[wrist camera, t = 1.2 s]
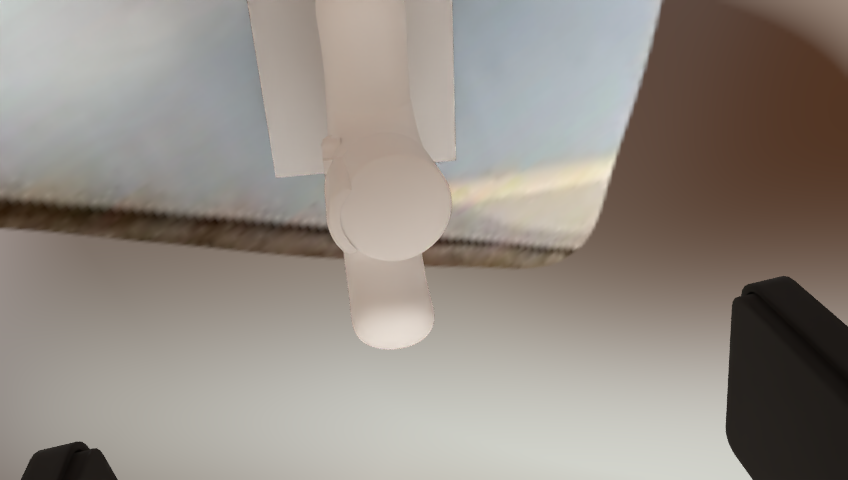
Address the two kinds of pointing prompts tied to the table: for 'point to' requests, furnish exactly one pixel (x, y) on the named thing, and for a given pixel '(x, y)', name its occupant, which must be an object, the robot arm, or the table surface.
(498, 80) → the table surface
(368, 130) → the figurine
